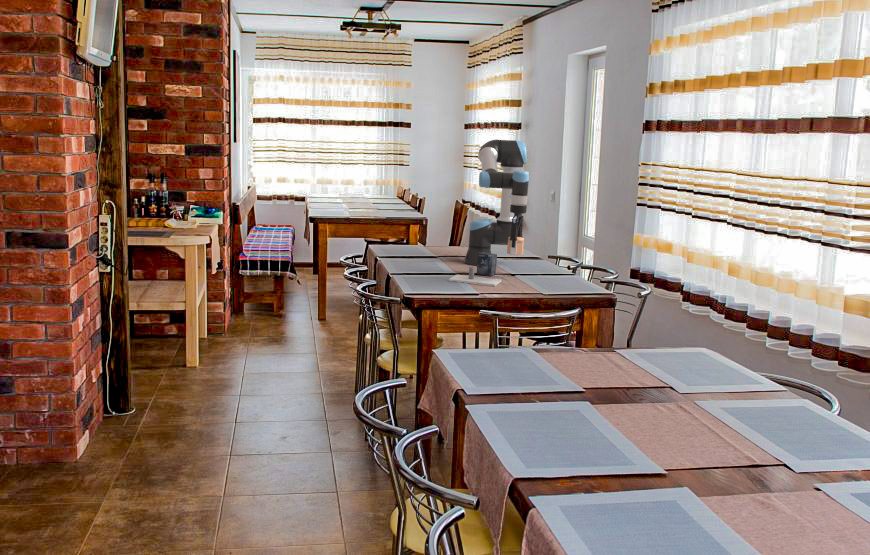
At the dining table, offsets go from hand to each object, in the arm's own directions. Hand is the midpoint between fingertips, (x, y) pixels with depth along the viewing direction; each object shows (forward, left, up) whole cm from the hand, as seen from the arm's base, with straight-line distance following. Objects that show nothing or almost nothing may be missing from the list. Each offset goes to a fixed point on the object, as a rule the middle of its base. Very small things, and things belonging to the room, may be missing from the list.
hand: (515, 253), depth 395 cm
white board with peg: (+9, -16, -14) cm, 23 cm away
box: (-11, -16, -14) cm, 24 cm away
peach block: (0, 0, 0) cm, 0 cm away
